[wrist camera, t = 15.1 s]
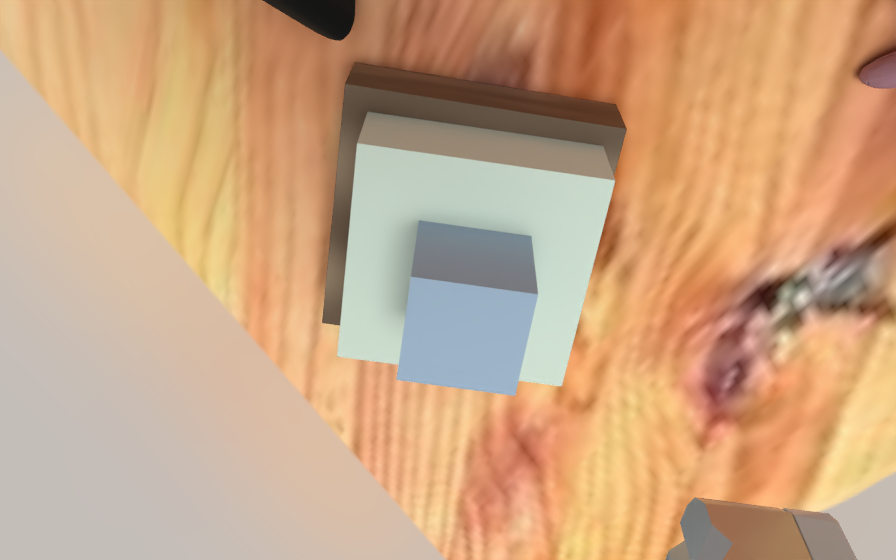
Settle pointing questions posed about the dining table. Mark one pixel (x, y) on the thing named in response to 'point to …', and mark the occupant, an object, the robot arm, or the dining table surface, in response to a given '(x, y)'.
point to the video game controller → (880, 72)
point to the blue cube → (468, 308)
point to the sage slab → (470, 225)
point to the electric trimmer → (320, 15)
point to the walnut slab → (453, 106)
